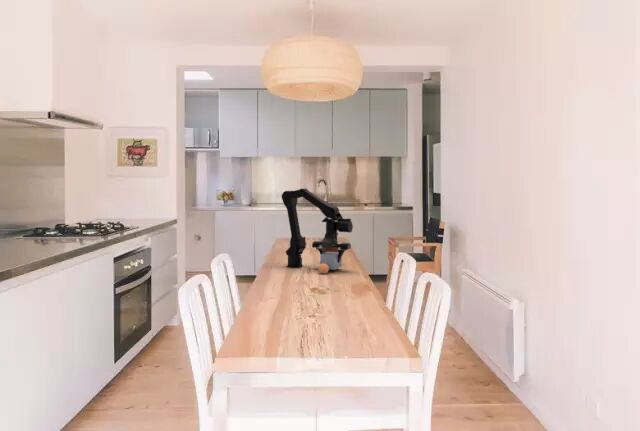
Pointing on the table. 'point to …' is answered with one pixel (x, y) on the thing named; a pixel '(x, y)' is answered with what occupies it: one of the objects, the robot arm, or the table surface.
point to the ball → (323, 268)
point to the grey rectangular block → (330, 260)
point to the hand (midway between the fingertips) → (331, 262)
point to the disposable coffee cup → (332, 249)
